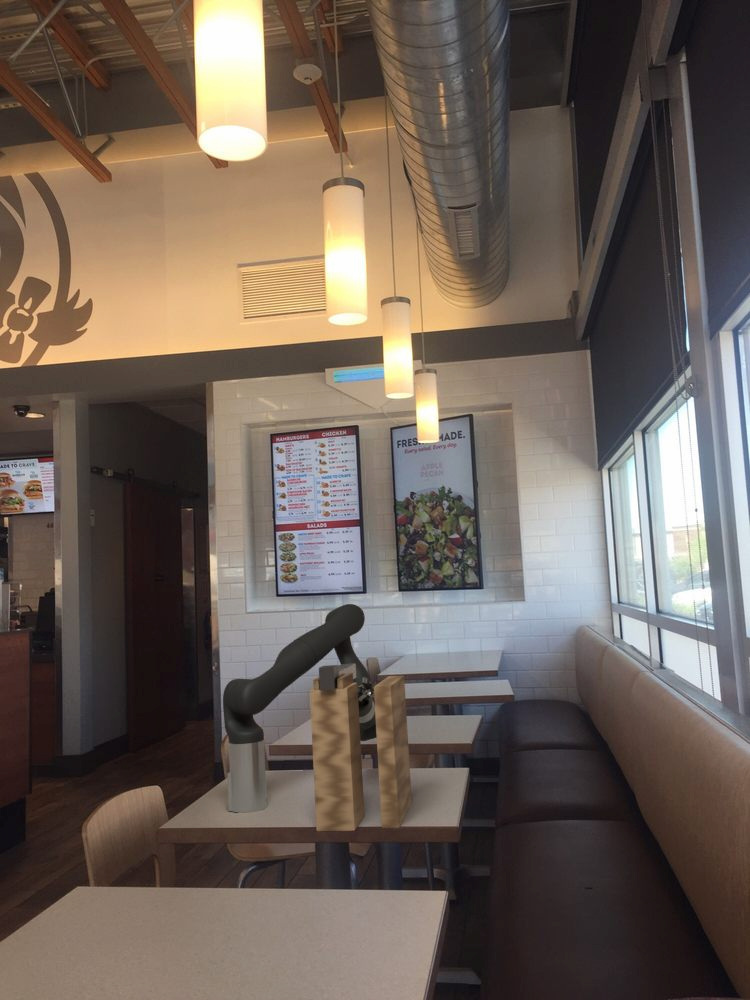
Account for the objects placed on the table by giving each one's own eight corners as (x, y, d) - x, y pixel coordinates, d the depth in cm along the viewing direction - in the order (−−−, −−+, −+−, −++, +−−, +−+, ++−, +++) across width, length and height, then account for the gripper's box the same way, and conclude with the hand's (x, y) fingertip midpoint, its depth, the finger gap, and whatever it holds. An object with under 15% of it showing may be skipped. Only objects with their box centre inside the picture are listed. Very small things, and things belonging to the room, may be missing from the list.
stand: (316, 830, 192) (309, 679, 196) (339, 803, 215) (332, 669, 219) (397, 830, 189) (388, 676, 192) (411, 802, 212) (403, 666, 216)
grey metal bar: (334, 689, 193) (333, 667, 194) (319, 690, 194) (318, 667, 194) (356, 677, 218) (355, 657, 218) (342, 678, 218) (341, 658, 219)
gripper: (335, 692, 232) (322, 668, 219) (385, 690, 229) (375, 666, 217) (333, 718, 227) (319, 695, 215) (384, 717, 225) (373, 693, 212)
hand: (347, 680), depth 216 cm, fingers open, 8 cm apart
